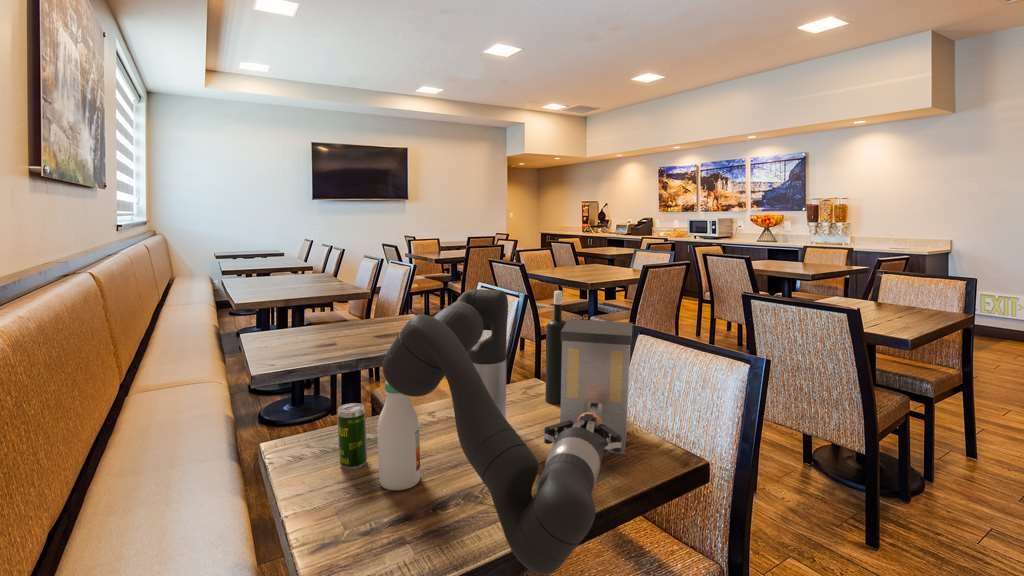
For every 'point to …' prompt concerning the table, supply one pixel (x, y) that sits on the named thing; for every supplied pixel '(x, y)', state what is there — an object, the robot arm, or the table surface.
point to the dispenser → (596, 372)
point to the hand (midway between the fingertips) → (589, 419)
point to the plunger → (593, 411)
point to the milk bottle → (398, 442)
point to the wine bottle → (554, 353)
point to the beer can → (352, 436)
